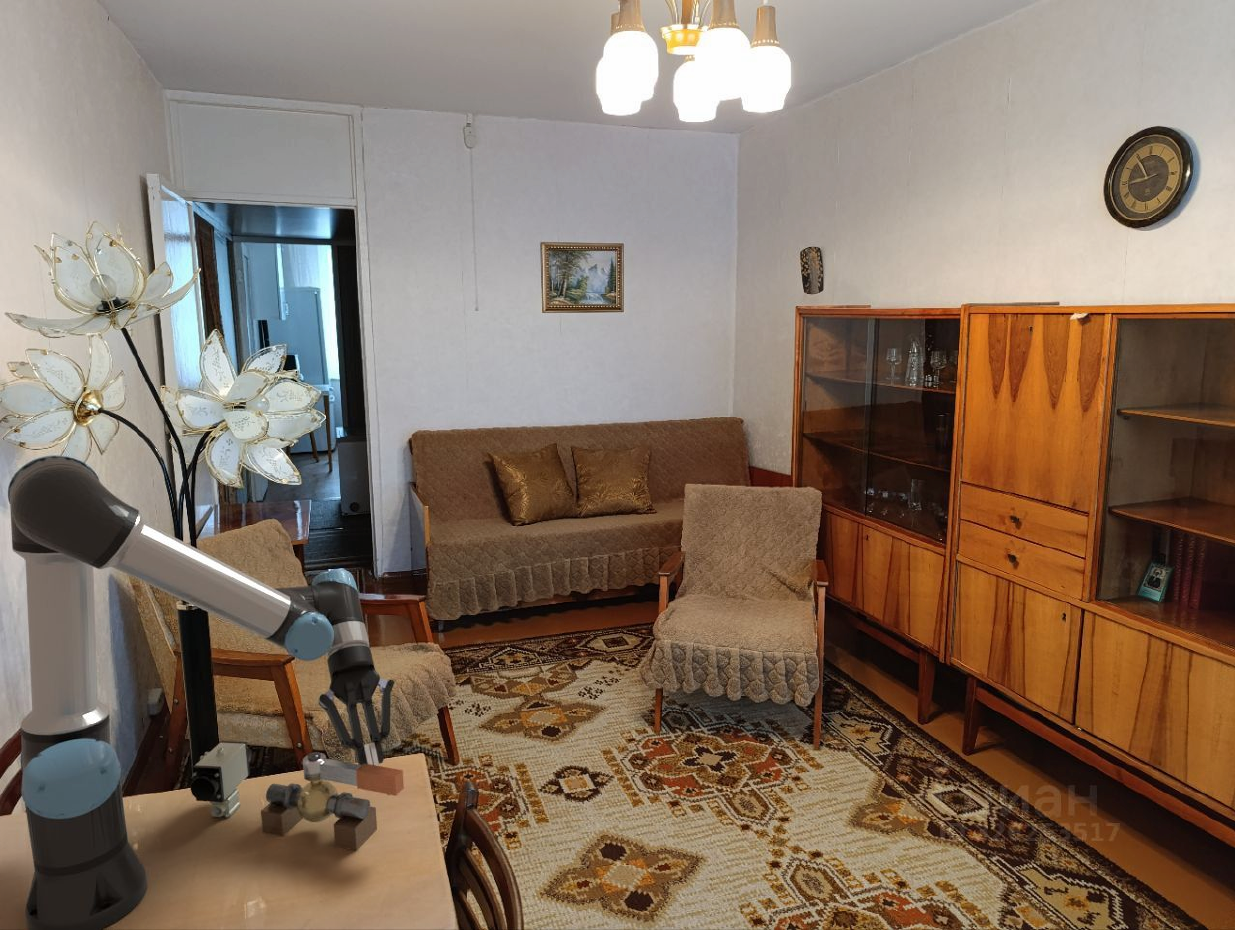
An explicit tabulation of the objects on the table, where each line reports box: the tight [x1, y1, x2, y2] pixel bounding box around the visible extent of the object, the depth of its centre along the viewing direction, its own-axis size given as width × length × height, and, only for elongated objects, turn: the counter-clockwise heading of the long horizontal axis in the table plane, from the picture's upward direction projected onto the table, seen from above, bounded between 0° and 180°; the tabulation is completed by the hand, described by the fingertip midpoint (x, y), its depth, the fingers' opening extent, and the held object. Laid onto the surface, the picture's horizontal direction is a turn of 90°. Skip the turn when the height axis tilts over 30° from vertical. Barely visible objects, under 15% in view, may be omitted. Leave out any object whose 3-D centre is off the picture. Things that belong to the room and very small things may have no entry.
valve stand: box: [260, 779, 378, 852], centre depth 142 cm, size 18×7×10 cm, turn 74°
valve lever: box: [302, 751, 405, 797], centre depth 138 cm, size 18×4×4 cm, turn 72°
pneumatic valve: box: [190, 740, 253, 818], centre depth 147 cm, size 6×12×12 cm, turn 174°
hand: (376, 784), depth 140 cm, fingers closed
